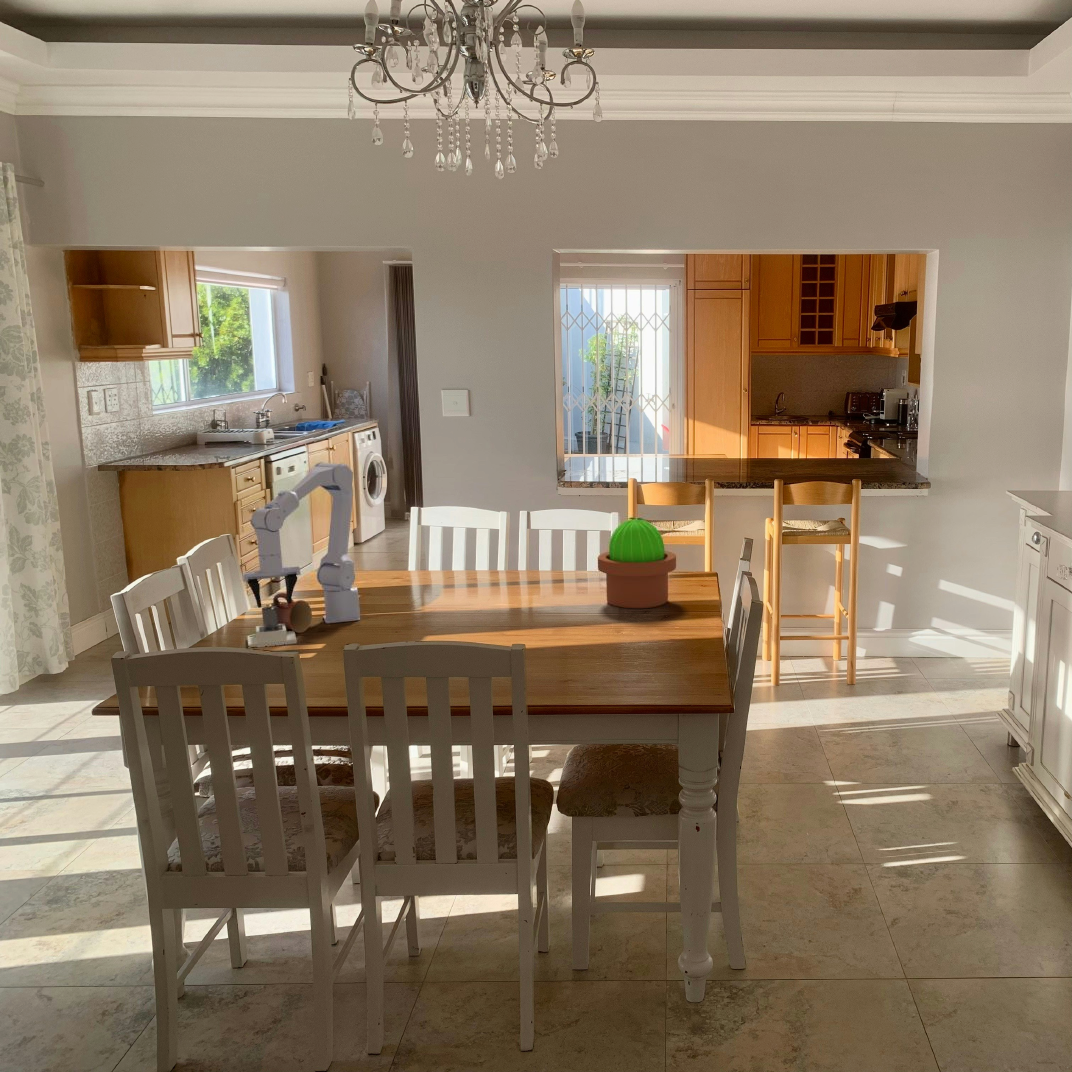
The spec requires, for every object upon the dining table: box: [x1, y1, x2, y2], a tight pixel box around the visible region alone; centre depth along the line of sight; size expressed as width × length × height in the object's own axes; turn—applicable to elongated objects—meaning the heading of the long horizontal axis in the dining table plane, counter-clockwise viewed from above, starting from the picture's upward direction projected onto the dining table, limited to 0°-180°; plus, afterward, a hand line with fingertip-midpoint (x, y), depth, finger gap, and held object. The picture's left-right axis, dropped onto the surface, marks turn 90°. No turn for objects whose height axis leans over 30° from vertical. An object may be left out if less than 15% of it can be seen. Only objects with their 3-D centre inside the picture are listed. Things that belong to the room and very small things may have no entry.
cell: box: [261, 603, 279, 632], centre depth 260 cm, size 4×4×9 cm
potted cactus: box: [597, 516, 677, 609], centre depth 288 cm, size 22×22×25 cm
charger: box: [247, 623, 297, 649], centre depth 261 cm, size 12×9×4 cm
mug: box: [270, 592, 313, 634], centre depth 271 cm, size 12×9×10 cm
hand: (274, 604), depth 262 cm, fingers open, 7 cm apart
